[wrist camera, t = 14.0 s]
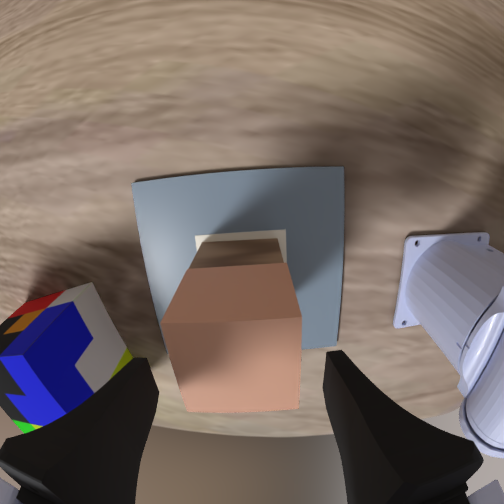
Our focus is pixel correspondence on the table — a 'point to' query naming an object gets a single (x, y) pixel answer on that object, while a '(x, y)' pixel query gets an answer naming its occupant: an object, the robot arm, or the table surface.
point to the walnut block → (237, 253)
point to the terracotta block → (236, 338)
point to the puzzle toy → (57, 355)
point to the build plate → (250, 232)
